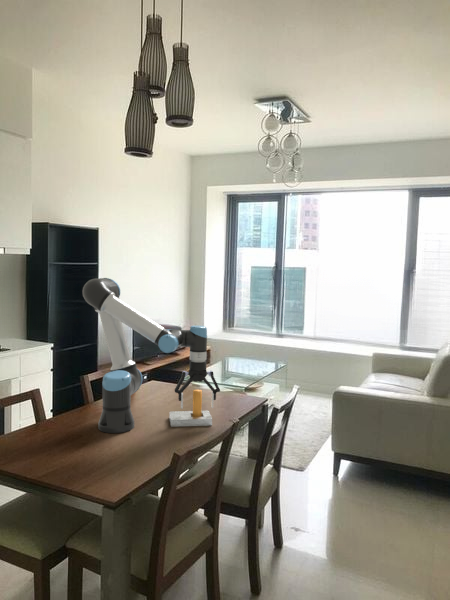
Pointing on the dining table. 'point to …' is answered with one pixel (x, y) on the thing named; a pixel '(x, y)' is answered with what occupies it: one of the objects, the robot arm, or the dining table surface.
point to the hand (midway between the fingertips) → (197, 407)
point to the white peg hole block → (189, 418)
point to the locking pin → (197, 403)
